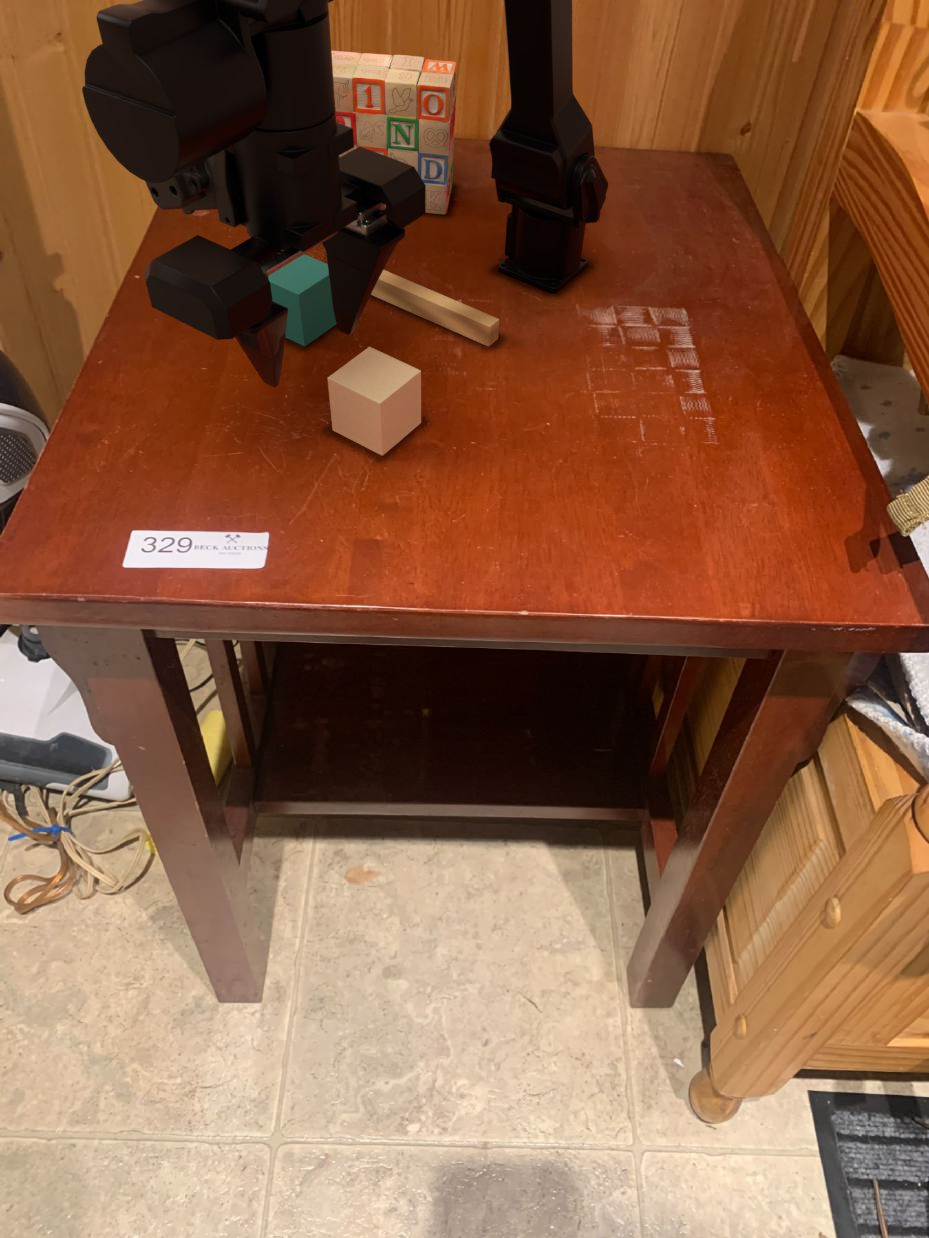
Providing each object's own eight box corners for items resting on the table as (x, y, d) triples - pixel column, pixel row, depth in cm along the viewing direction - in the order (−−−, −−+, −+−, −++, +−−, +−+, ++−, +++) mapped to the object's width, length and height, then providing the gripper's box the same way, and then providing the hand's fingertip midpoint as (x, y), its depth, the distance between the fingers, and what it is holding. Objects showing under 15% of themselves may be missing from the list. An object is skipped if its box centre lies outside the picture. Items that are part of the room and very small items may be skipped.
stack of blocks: (241, 198, 94) (221, 66, 85) (256, 169, 98) (238, 41, 89) (447, 215, 93) (450, 85, 84) (454, 186, 97) (457, 58, 88)
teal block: (342, 320, 81) (338, 268, 77) (304, 347, 79) (298, 294, 75) (299, 301, 83) (293, 249, 79) (261, 326, 80) (253, 273, 76)
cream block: (421, 423, 73) (421, 370, 69) (382, 456, 70) (379, 403, 66) (372, 398, 74) (369, 346, 71) (332, 430, 72) (327, 377, 68)
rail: (498, 339, 80) (499, 319, 79) (488, 347, 79) (489, 327, 78) (339, 270, 86) (338, 250, 85) (329, 277, 86) (327, 257, 84)
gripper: (286, 23, 57) (310, 259, 69) (38, 124, 47) (117, 379, 59) (431, 71, 53) (429, 311, 65) (195, 192, 43) (245, 449, 55)
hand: (309, 357), depth 61 cm, fingers open, 7 cm apart
